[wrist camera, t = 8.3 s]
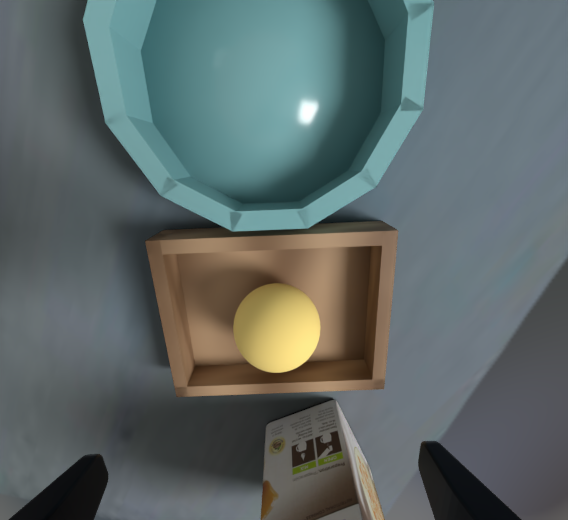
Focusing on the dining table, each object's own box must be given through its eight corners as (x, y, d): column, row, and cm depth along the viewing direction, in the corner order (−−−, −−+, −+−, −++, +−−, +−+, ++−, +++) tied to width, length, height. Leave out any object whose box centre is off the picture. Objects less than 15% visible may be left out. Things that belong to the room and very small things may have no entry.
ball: (314, 268, 18) (327, 306, 14) (314, 336, 20) (327, 390, 15) (235, 272, 18) (221, 311, 14) (241, 340, 20) (232, 396, 15)
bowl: (413, -102, 13) (456, -187, 10) (389, 214, 18) (412, 226, 15) (98, -87, 13) (39, -166, 10) (156, 223, 18) (128, 237, 15)
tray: (382, 220, 18) (398, 230, 16) (372, 362, 21) (384, 389, 19) (163, 229, 18) (144, 240, 16) (188, 369, 21) (176, 396, 19)
